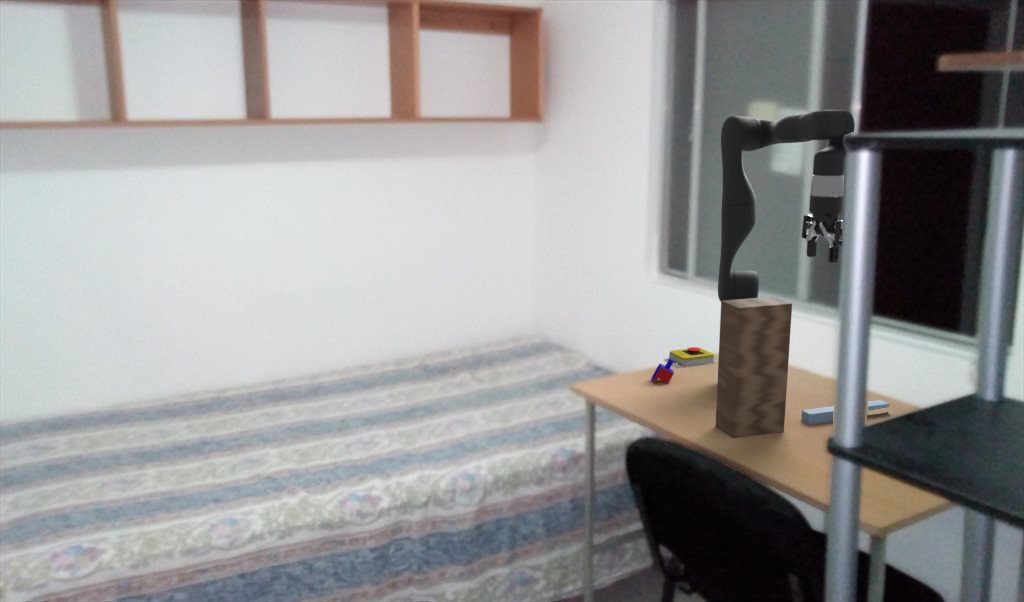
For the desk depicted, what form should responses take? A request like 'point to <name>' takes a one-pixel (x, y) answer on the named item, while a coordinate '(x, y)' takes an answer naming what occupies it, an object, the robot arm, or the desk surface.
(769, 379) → the upright
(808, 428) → the desk surface
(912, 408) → the desk surface
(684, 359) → the emergency button
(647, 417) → the desk surface
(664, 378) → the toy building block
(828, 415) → the bar
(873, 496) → the desk surface
